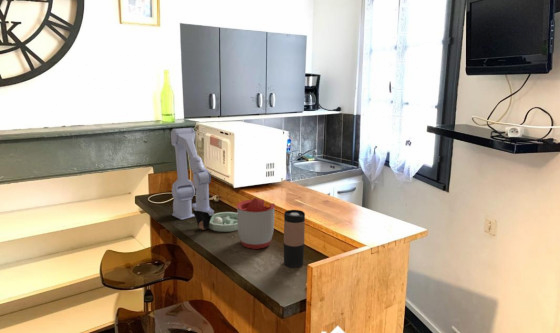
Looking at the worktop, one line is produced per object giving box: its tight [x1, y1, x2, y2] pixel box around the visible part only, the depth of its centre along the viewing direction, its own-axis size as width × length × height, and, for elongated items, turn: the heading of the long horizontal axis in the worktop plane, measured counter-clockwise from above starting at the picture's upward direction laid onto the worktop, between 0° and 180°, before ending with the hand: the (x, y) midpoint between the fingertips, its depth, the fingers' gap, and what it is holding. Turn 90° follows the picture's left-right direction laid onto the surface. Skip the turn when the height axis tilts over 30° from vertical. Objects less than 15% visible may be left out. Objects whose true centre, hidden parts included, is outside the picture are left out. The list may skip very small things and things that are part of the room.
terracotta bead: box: [198, 221, 206, 231], centre depth 183 cm, size 4×4×4 cm
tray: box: [207, 211, 238, 233], centre depth 190 cm, size 18×18×3 cm
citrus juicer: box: [236, 197, 276, 250], centre depth 167 cm, size 16×17×20 cm
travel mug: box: [283, 209, 306, 269], centre depth 149 cm, size 8×8×20 cm
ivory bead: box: [214, 217, 222, 224], centre depth 186 cm, size 4×4×4 cm
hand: (203, 226), depth 183 cm, fingers closed on terracotta bead, 4 cm apart
